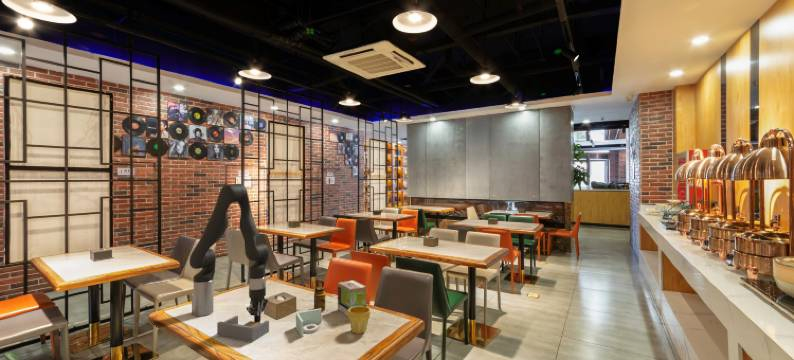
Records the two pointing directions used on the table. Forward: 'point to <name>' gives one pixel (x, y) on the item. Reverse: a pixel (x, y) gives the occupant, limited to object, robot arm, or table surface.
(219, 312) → the table surface
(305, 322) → the right angle wall
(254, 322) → the walnut tile
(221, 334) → the box
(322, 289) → the condiment
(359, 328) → the plant pot
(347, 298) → the tea box
